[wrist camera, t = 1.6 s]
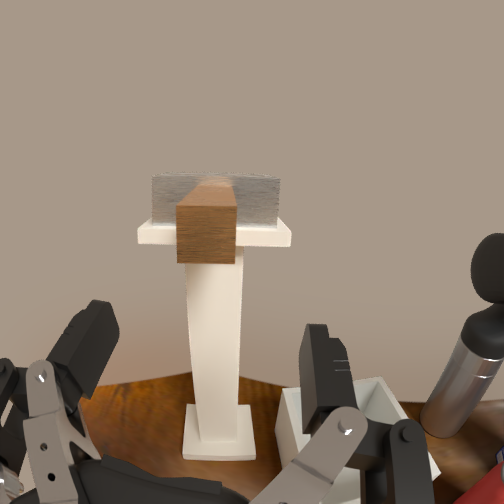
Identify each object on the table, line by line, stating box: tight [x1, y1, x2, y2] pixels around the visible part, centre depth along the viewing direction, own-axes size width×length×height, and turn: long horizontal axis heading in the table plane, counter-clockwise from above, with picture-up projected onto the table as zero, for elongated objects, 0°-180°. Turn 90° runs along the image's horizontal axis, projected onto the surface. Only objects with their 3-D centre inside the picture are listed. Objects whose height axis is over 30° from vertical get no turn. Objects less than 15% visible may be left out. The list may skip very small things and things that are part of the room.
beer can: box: [453, 461, 504, 504], centre depth 13 cm, size 7×7×12 cm
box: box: [275, 376, 441, 504], centre depth 27 cm, size 15×19×10 cm
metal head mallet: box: [152, 172, 280, 264], centre depth 20 cm, size 10×16×4 cm, turn 5°
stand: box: [137, 217, 292, 461], centre depth 31 cm, size 12×10×32 cm
